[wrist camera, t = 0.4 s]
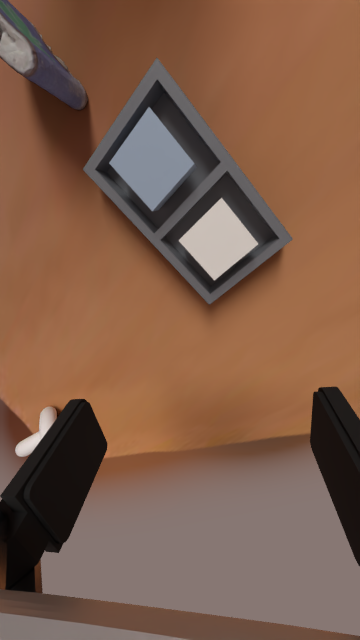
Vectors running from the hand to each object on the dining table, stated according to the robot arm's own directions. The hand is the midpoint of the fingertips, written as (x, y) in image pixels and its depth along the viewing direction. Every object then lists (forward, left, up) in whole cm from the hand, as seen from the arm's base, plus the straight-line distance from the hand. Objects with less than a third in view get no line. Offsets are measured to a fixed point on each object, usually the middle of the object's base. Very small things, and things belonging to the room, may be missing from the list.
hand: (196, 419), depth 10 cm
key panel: (-3, -8, -26) cm, 27 cm away
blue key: (-3, -13, -23) cm, 26 cm away
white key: (-3, -3, -23) cm, 23 cm away
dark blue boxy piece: (-1, -28, -26) cm, 38 cm away
